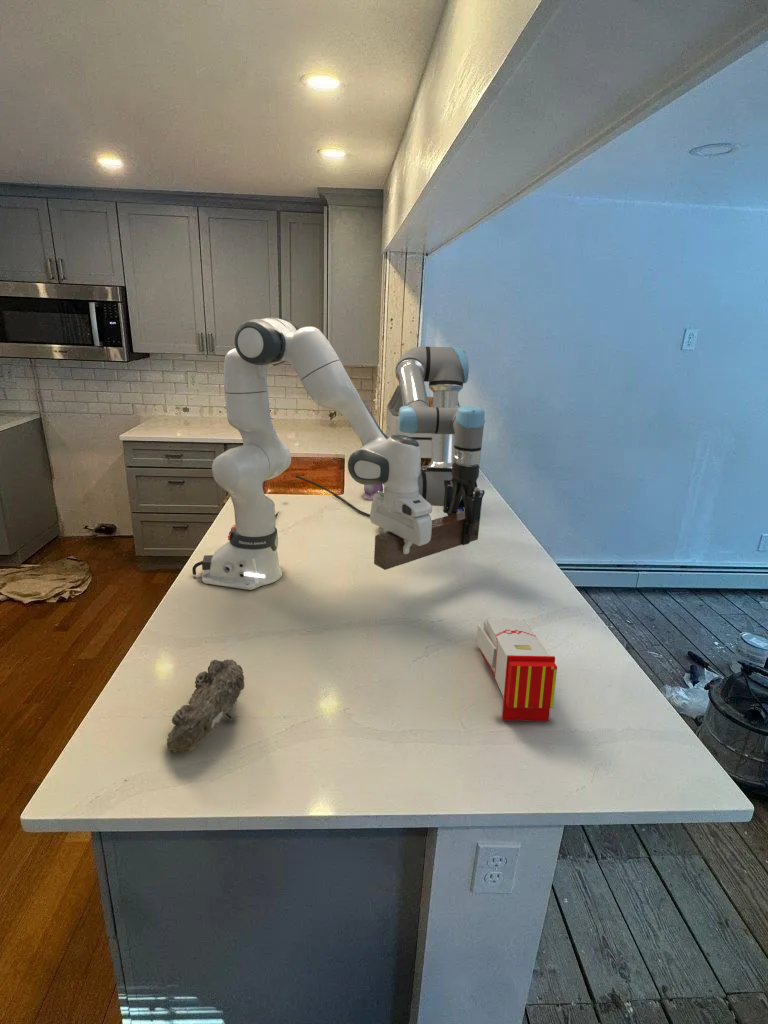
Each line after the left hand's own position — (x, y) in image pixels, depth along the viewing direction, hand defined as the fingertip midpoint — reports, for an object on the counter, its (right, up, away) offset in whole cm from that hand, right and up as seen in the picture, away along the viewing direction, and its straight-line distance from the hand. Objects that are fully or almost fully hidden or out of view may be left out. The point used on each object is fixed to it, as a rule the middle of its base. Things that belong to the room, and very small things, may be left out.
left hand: (397, 549), depth 149 cm
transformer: (+14, +29, +126) cm, 130 cm away
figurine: (-8, +16, +88) cm, 90 cm away
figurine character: (+26, +11, +80) cm, 85 cm away
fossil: (-36, -29, -41) cm, 62 cm away
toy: (+24, -27, -26) cm, 44 cm away
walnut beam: (+9, -1, +9) cm, 12 cm away
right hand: (+18, +1, +16) cm, 24 cm away
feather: (-44, +8, +63) cm, 77 cm away
